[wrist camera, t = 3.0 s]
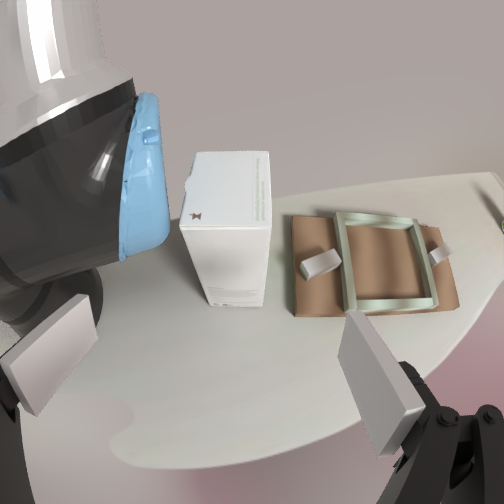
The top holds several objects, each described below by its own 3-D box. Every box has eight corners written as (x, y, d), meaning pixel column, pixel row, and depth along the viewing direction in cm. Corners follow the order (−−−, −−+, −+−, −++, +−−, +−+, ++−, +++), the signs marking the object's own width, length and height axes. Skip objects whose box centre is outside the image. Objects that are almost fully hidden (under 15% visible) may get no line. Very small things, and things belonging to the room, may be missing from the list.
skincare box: (262, 308, 31) (276, 233, 17) (204, 307, 31) (173, 231, 17) (262, 245, 35) (272, 148, 21) (210, 243, 35) (192, 147, 21)
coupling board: (294, 316, 30) (299, 308, 28) (291, 222, 37) (294, 207, 34) (453, 309, 30) (467, 301, 28) (434, 233, 37) (444, 221, 34)
